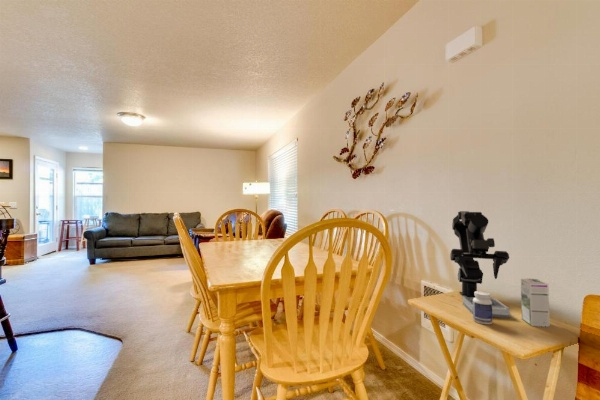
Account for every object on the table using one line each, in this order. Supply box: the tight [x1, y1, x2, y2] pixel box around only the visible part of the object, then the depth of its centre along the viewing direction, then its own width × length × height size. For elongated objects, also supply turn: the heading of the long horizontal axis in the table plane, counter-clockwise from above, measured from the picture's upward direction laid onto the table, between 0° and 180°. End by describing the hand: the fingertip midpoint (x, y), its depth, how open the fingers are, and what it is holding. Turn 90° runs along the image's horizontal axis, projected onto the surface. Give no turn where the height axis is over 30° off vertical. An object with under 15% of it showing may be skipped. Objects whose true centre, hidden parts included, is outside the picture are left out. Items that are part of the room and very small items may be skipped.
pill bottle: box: [472, 290, 493, 325], centre depth 99 cm, size 6×6×10 cm
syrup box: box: [520, 278, 551, 328], centre depth 97 cm, size 6×6×14 cm
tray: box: [462, 296, 511, 319], centre depth 108 cm, size 12×11×4 cm
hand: (481, 277), depth 105 cm, fingers open, 9 cm apart
